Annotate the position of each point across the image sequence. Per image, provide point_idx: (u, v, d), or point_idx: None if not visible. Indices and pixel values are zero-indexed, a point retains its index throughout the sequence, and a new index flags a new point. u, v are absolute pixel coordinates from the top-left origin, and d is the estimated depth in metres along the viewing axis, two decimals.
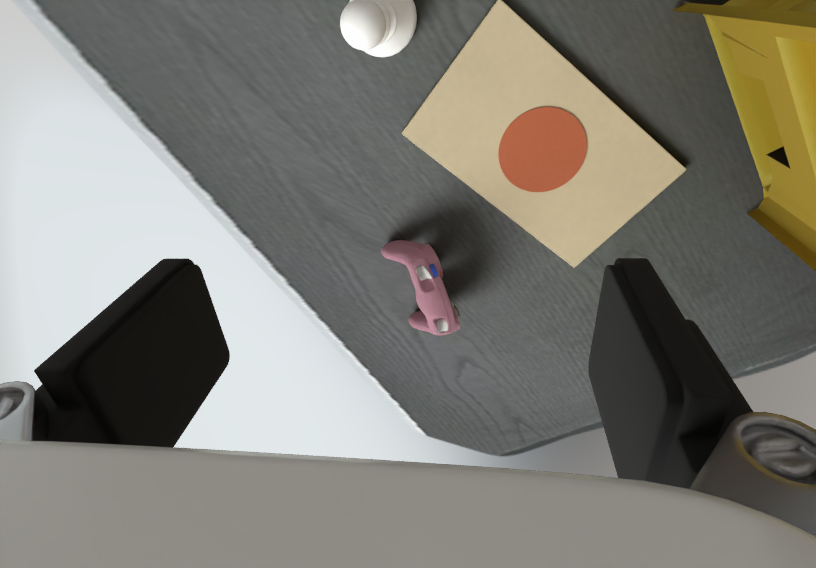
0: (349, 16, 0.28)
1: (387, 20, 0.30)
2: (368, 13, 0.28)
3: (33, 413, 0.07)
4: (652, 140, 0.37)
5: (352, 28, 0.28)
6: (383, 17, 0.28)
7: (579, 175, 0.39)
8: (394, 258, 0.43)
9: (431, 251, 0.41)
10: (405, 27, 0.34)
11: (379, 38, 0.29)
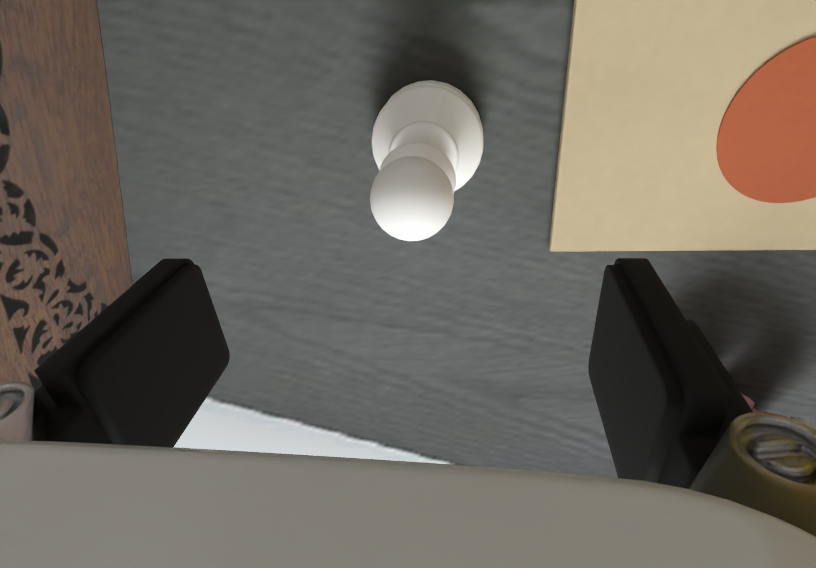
0: (384, 211, 0.15)
1: (441, 159, 0.17)
2: (408, 187, 0.15)
3: (33, 413, 0.07)
4: None
5: (400, 224, 0.15)
6: (434, 168, 0.15)
7: None
8: None
9: None
10: (467, 131, 0.20)
11: (449, 202, 0.15)
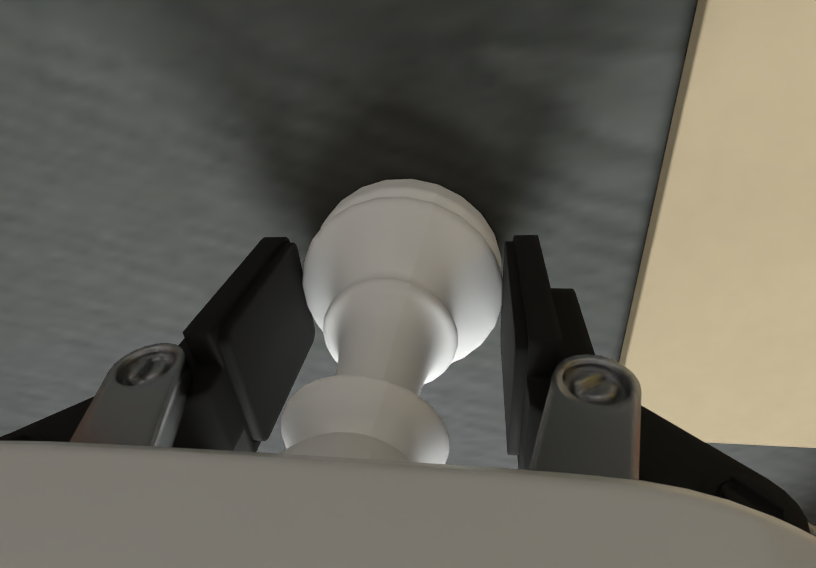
0: None
1: (414, 416, 0.07)
2: None
3: (176, 382, 0.07)
4: None
5: None
6: None
7: None
8: None
9: None
10: (474, 282, 0.11)
11: None
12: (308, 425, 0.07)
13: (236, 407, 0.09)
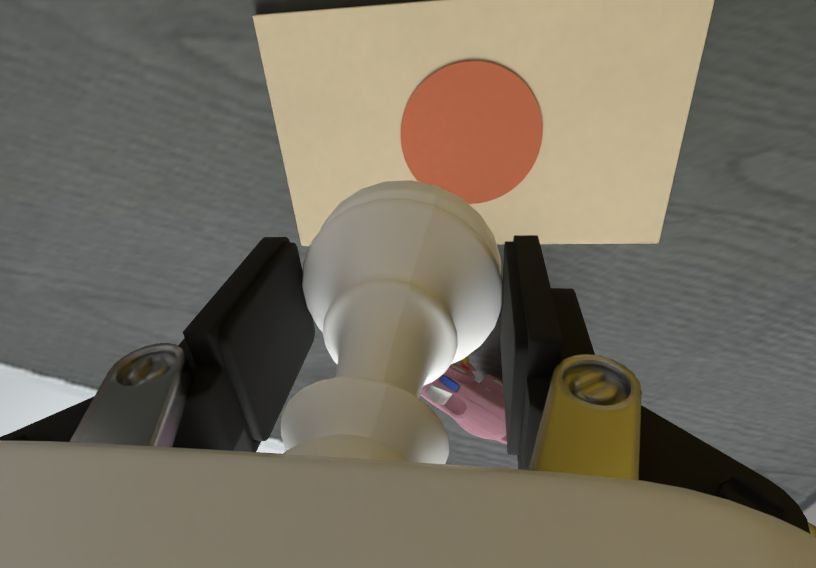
0: None
1: (413, 418, 0.07)
2: None
3: (176, 383, 0.07)
4: None
5: None
6: None
7: (549, 125, 0.23)
8: None
9: None
10: (474, 283, 0.11)
11: None
12: (308, 427, 0.07)
13: (236, 407, 0.09)
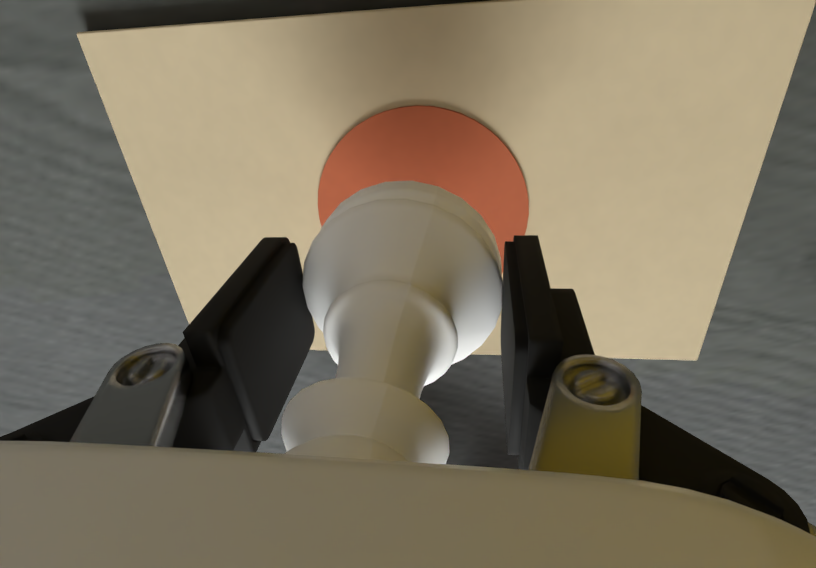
0: None
1: (414, 418, 0.07)
2: None
3: (176, 382, 0.07)
4: None
5: None
6: None
7: (538, 200, 0.15)
8: None
9: None
10: (474, 284, 0.11)
11: None
12: (308, 427, 0.07)
13: (236, 407, 0.09)
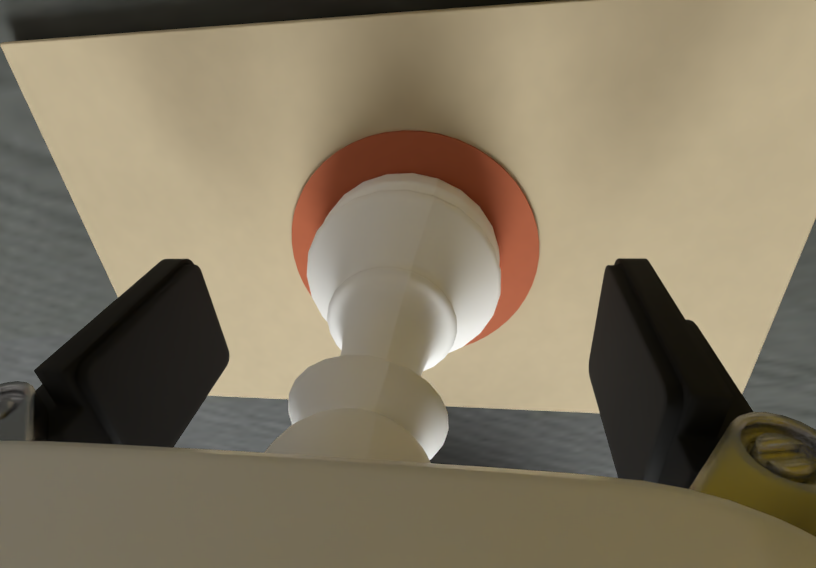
0: None
1: (415, 393, 0.08)
2: None
3: (33, 413, 0.07)
4: None
5: None
6: None
7: (551, 240, 0.13)
8: None
9: None
10: (473, 272, 0.11)
11: None
12: (314, 403, 0.08)
13: None
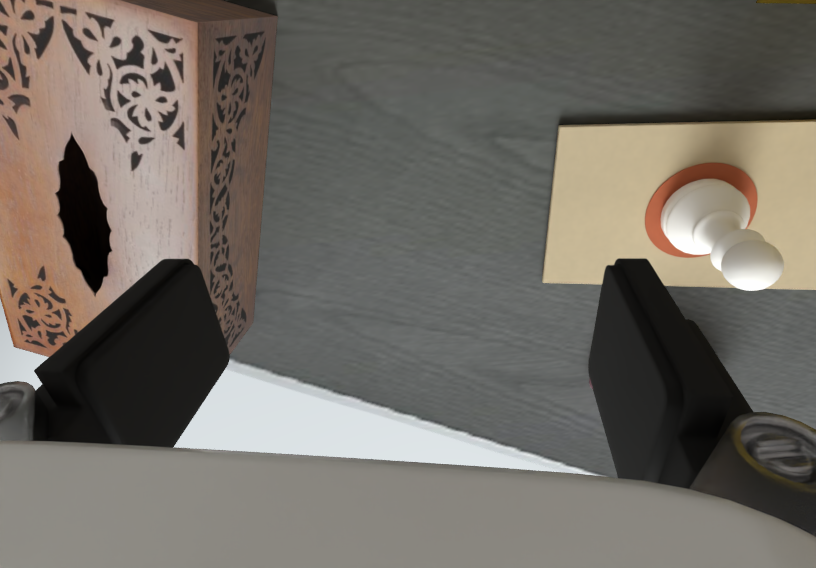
0: (746, 274, 0.25)
1: (762, 239, 0.27)
2: (768, 260, 0.25)
3: (33, 413, 0.07)
4: None
5: (756, 281, 0.25)
6: (776, 249, 0.25)
7: (761, 206, 0.32)
8: None
9: None
10: (744, 214, 0.30)
11: None
12: (732, 242, 0.27)
13: None
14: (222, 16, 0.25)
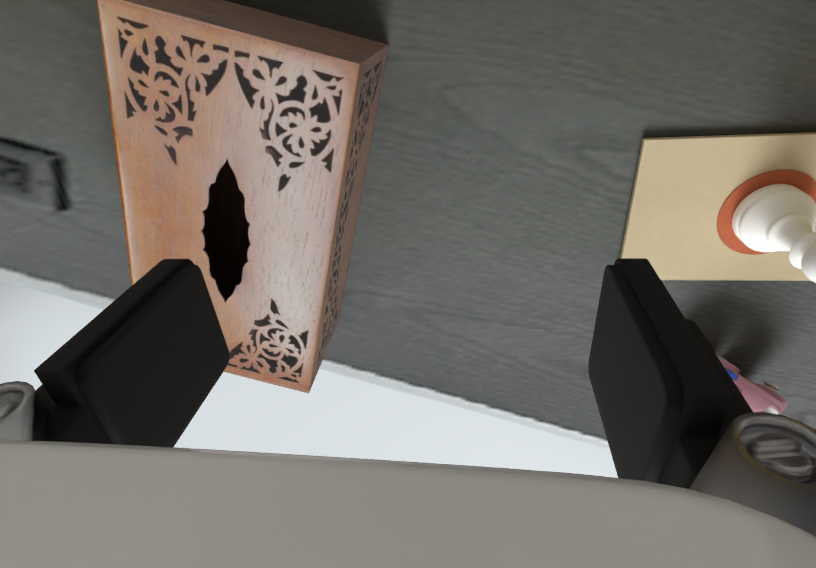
0: None
1: None
2: None
3: (33, 413, 0.07)
4: None
5: None
6: None
7: None
8: None
9: None
10: (813, 216, 0.34)
11: None
12: (810, 243, 0.30)
13: None
14: (362, 52, 0.28)
